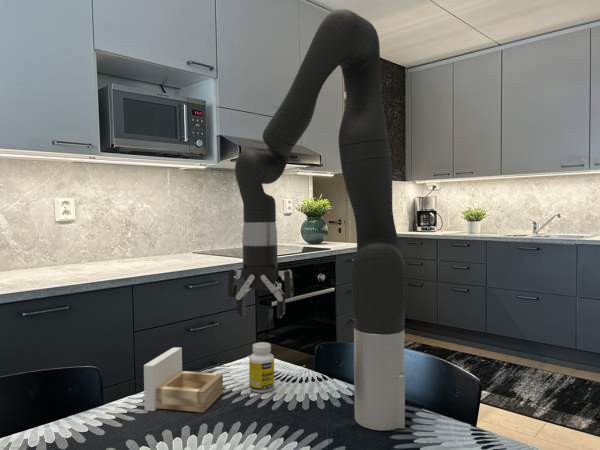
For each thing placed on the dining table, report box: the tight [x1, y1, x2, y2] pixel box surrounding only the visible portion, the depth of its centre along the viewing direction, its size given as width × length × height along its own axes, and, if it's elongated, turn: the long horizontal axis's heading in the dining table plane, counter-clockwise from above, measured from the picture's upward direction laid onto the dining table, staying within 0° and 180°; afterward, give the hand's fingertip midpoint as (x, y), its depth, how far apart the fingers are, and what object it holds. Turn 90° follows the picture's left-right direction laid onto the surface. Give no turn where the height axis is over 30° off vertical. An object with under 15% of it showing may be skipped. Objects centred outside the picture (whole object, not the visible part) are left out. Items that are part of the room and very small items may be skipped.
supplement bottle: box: [248, 341, 275, 394], centre depth 101 cm, size 5×5×10 cm
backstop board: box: [143, 347, 183, 412], centre depth 96 cm, size 2×12×9 cm, turn 167°
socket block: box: [156, 370, 224, 413], centre depth 95 cm, size 10×10×4 cm
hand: (260, 316), depth 100 cm, fingers open, 8 cm apart
